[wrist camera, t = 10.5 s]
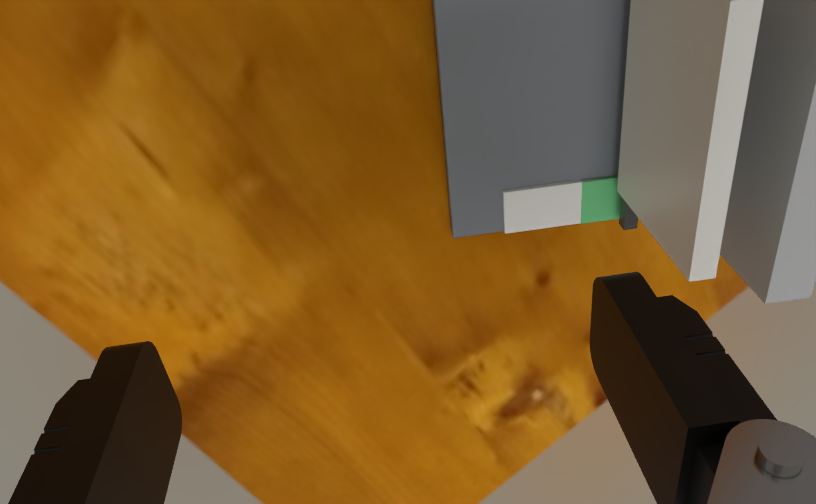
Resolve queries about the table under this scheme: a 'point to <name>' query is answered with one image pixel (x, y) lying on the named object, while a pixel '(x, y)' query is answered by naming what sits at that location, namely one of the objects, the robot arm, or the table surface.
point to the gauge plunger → (684, 122)
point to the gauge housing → (617, 128)
